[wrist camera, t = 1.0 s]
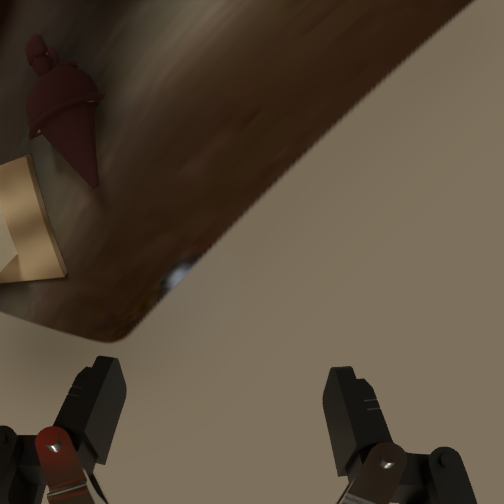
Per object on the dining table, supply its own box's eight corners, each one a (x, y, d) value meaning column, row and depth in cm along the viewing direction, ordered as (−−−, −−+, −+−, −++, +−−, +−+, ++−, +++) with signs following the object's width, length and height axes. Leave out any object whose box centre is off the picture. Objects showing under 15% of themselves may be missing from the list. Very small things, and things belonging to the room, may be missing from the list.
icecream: (130, 171, 22) (68, 7, 16) (48, 216, 21) (-9, 55, 15) (138, 165, 28) (86, 33, 22) (71, 201, 27) (21, 70, 21)
